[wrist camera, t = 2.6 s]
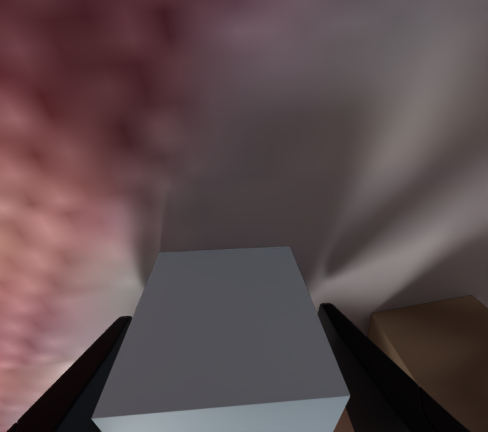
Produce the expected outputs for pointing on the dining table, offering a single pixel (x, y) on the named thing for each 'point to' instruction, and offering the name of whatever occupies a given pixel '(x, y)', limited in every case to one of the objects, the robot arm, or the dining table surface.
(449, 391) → the walnut block
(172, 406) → the grey cube
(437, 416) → the robot arm
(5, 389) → the dining table surface
